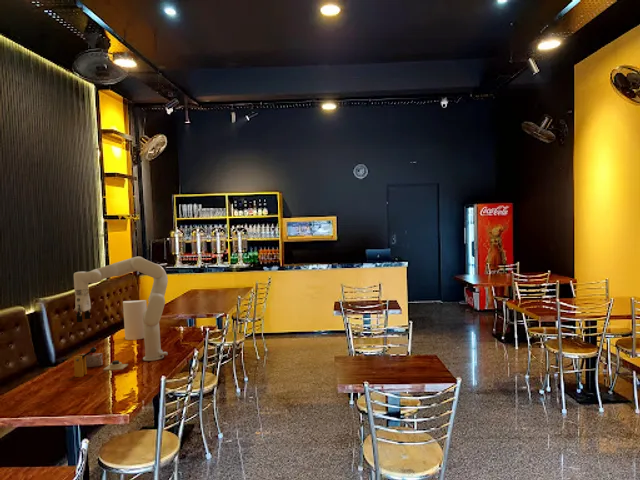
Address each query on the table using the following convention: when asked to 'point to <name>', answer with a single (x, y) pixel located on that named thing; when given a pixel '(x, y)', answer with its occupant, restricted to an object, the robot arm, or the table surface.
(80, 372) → the lever bracket
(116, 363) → the stop button
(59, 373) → the table surface
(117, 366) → the control block
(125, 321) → the cylinder
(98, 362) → the food item
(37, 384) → the table surface
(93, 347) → the press lever
